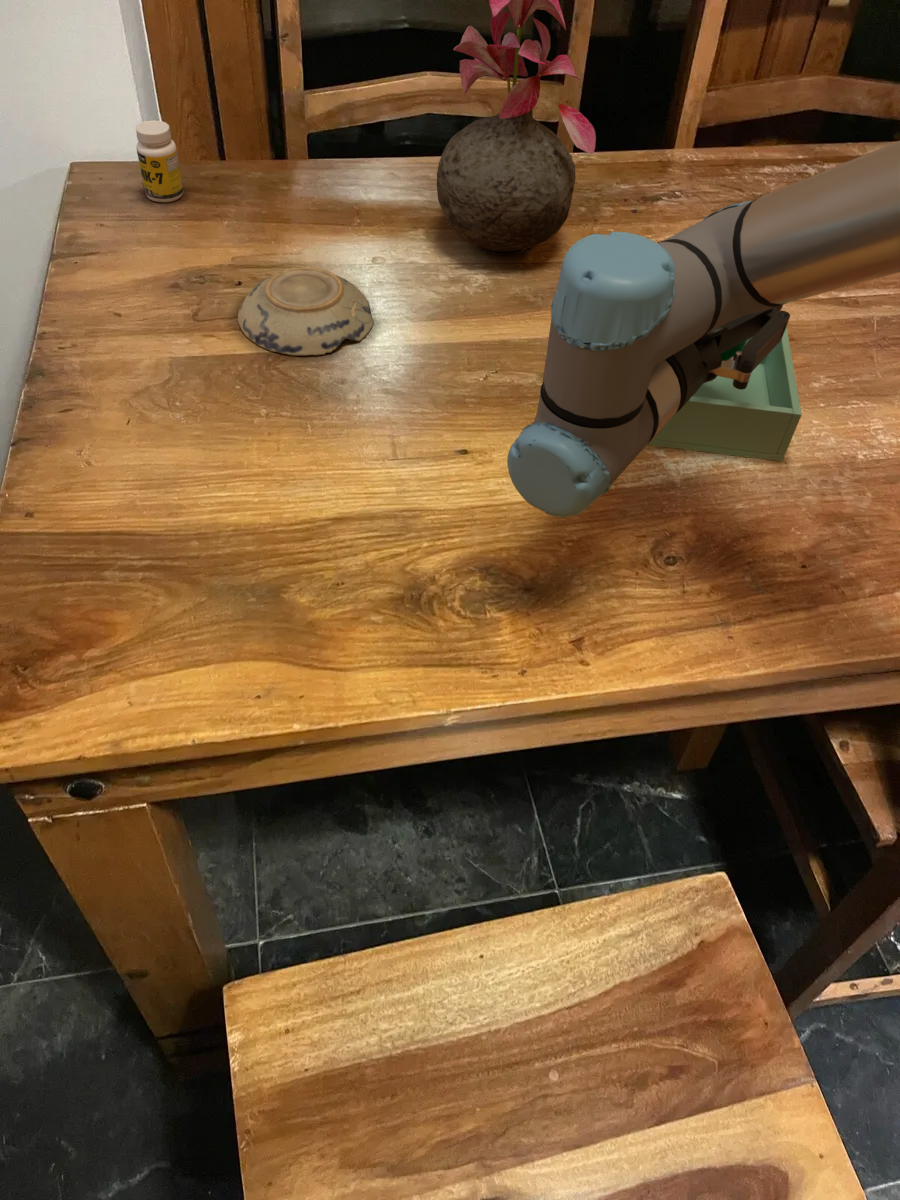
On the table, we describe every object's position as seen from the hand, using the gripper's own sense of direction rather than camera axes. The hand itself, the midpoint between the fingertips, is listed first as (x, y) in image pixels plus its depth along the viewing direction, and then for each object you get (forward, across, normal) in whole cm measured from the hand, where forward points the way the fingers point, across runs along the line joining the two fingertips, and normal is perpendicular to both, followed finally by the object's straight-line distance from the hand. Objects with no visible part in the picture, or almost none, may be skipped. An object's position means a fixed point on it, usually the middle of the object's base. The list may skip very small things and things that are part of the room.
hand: (756, 268), depth 89 cm
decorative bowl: (-19, -41, -13) cm, 47 cm away
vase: (+9, -33, -13) cm, 37 cm away
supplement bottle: (-10, -73, -13) cm, 75 cm away
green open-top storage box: (-5, 0, -13) cm, 14 cm away
